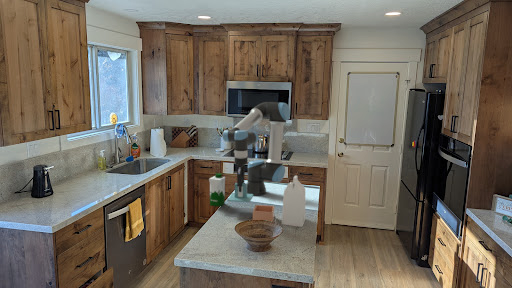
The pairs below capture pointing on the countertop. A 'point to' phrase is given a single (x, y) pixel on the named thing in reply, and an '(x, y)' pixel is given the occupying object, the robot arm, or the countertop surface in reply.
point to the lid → (245, 197)
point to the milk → (294, 204)
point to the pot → (263, 212)
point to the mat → (240, 212)
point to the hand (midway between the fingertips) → (240, 195)
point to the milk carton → (217, 190)
